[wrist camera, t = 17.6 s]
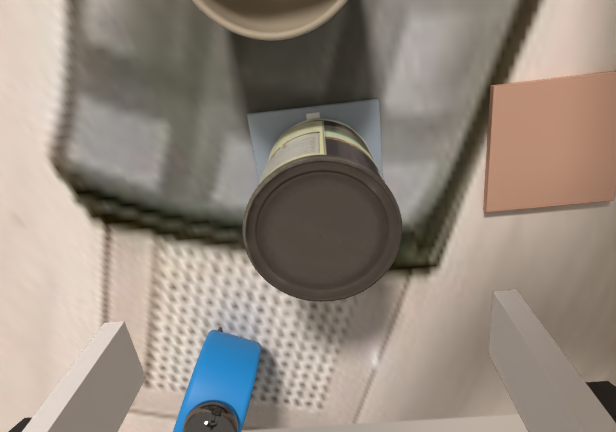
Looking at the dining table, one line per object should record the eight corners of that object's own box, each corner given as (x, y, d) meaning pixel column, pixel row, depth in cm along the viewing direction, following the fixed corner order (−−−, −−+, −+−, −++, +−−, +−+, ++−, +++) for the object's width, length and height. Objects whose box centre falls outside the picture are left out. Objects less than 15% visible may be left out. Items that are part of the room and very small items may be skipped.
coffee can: (379, 119, 37) (413, 161, 24) (367, 222, 41) (392, 305, 28) (266, 113, 37) (240, 153, 24) (266, 217, 41) (243, 299, 28)
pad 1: (248, 113, 38) (246, 115, 37) (377, 98, 37) (379, 99, 36) (268, 229, 43) (267, 232, 42) (383, 218, 42) (384, 221, 41)
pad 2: (490, 85, 36) (493, 86, 36) (632, 69, 35) (638, 69, 35) (483, 209, 41) (486, 212, 40) (608, 197, 40) (613, 200, 39)
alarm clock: (218, 304, 47) (175, 414, 33) (270, 319, 48) (248, 434, 34) (194, 384, 52) (148, 508, 38) (241, 397, 53) (212, 524, 39)
